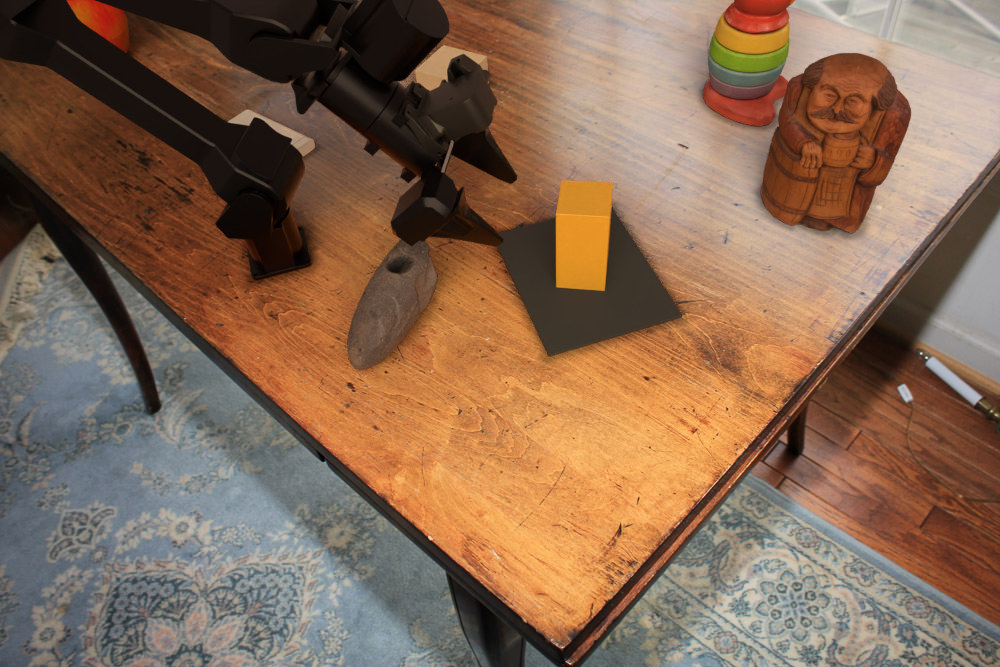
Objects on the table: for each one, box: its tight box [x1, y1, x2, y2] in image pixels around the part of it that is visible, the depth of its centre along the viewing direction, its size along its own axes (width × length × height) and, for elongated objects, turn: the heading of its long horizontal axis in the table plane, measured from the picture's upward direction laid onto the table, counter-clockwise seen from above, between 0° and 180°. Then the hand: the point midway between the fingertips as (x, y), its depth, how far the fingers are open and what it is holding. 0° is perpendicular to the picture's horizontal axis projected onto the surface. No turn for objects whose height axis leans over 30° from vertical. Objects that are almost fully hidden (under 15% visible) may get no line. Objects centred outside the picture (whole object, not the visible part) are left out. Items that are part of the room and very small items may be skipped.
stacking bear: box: [702, 0, 796, 127], centre depth 89 cm, size 11×10×18 cm
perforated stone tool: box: [346, 239, 438, 371], centre depth 72 cm, size 15×5×7 cm, turn 155°
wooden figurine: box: [760, 52, 912, 234], centre depth 75 cm, size 12×6×18 cm, turn 67°
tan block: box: [414, 44, 490, 91], centre depth 100 cm, size 7×7×4 cm
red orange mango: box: [67, 0, 131, 54], centre depth 108 cm, size 9×9×12 cm
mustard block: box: [555, 179, 614, 291], centre depth 74 cm, size 5×5×10 cm
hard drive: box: [227, 109, 316, 157], centre depth 95 cm, size 2×8×12 cm
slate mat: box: [496, 207, 683, 358], centre depth 78 cm, size 18×14×1 cm
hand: (507, 210), depth 72 cm, fingers open, 9 cm apart
